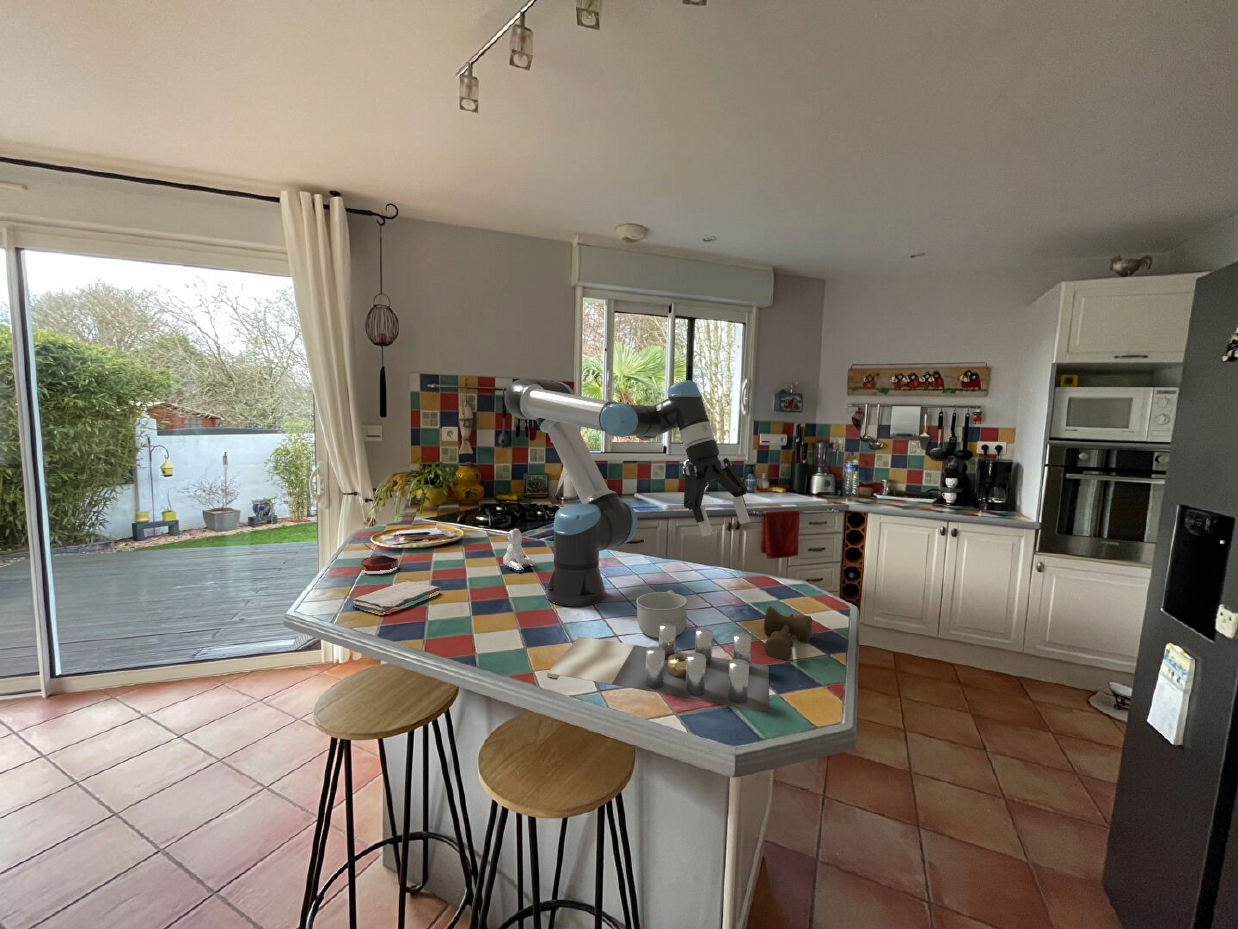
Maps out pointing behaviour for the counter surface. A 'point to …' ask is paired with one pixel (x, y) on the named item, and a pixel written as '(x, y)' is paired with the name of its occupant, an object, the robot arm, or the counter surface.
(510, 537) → the sitting furry creature
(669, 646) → the steel spacers
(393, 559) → the red and clear bowl
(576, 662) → the board
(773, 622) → the kendama
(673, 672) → the brass knob
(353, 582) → the counter surface
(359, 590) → the counter surface
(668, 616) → the teacup
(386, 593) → the washcloth
